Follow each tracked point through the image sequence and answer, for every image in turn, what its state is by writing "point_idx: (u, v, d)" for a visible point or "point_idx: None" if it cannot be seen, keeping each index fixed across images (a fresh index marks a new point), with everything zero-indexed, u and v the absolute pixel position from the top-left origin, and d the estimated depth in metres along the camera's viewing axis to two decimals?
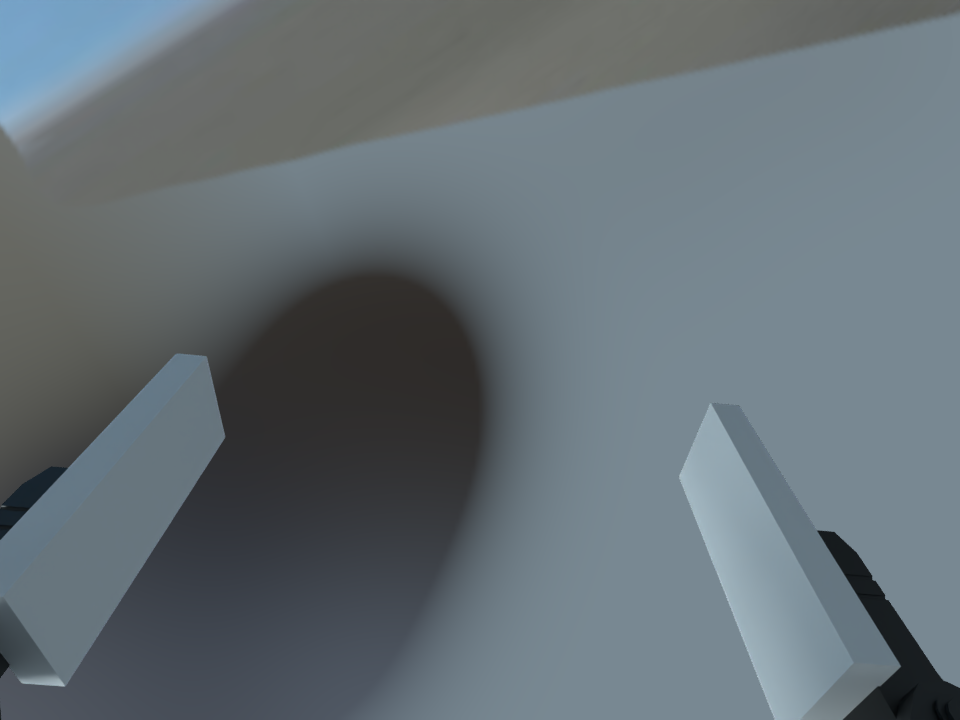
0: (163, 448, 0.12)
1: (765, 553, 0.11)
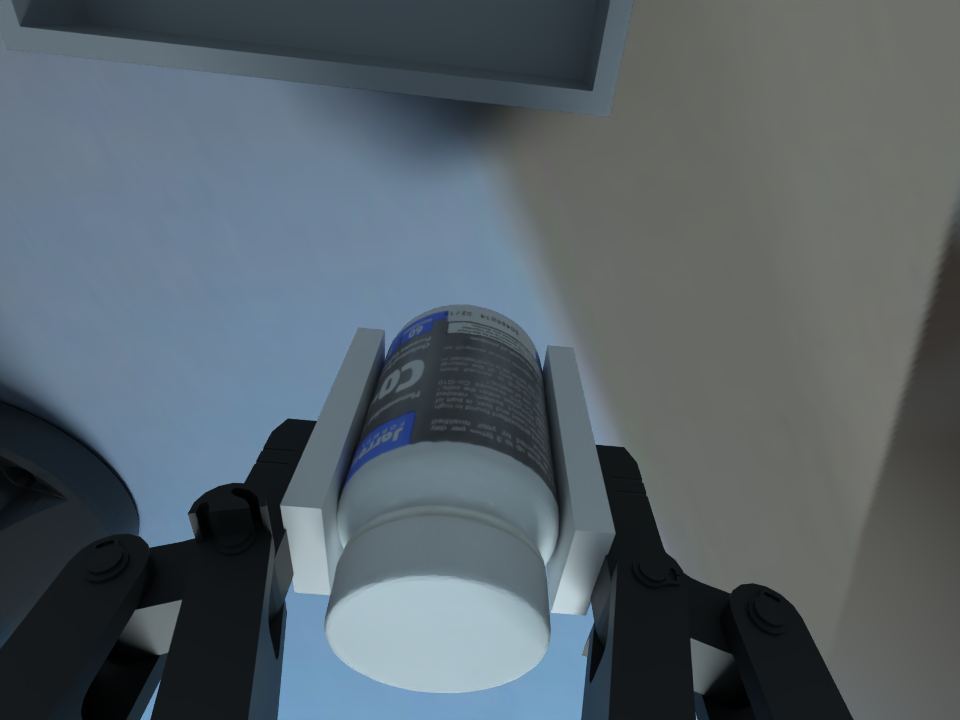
0: (368, 406, 0.13)
1: (556, 462, 0.12)
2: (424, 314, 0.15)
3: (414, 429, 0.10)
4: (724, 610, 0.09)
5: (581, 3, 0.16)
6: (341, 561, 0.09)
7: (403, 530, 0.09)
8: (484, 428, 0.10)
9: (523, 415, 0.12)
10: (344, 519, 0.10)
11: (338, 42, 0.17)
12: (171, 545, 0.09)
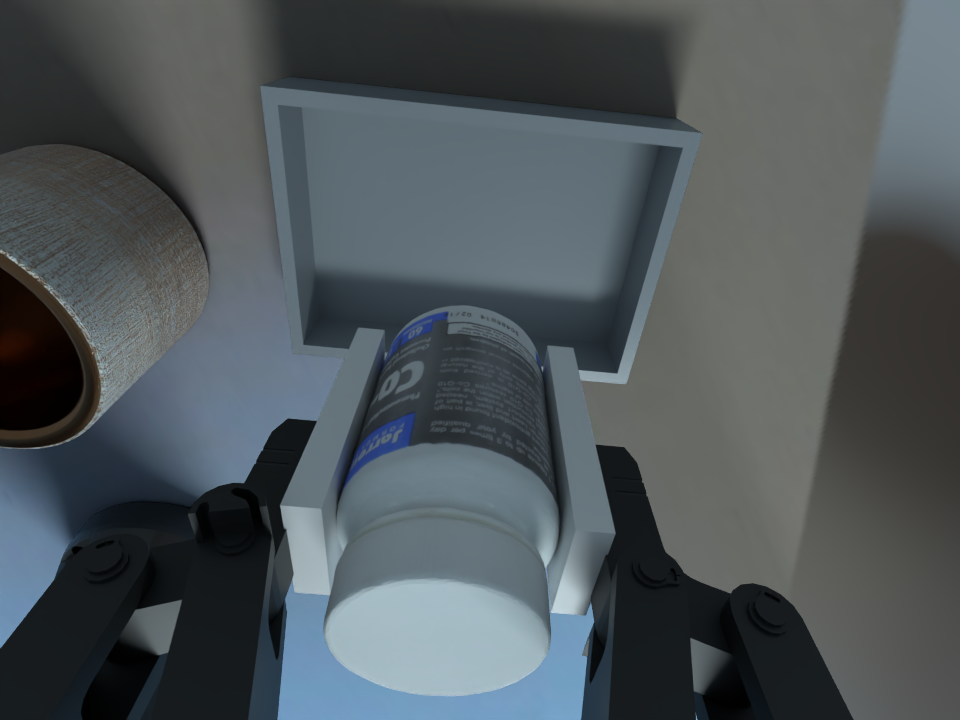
0: (368, 406, 0.13)
1: (556, 462, 0.12)
2: (424, 315, 0.15)
3: (414, 431, 0.10)
4: (723, 610, 0.09)
5: (607, 311, 0.28)
6: (340, 564, 0.09)
7: (402, 533, 0.09)
8: (484, 430, 0.10)
9: (523, 416, 0.12)
10: (343, 521, 0.10)
11: None
12: (171, 544, 0.09)
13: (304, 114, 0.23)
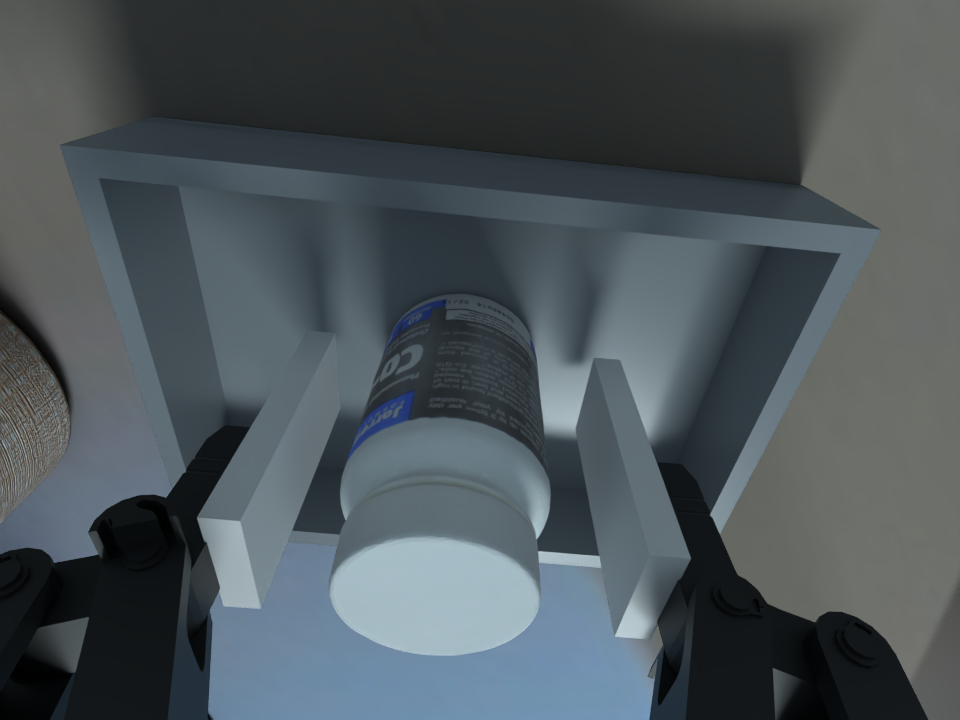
0: (312, 412, 0.13)
1: (614, 480, 0.12)
2: (423, 303, 0.15)
3: (413, 407, 0.11)
4: (807, 634, 0.09)
5: (667, 457, 0.19)
6: (344, 528, 0.10)
7: (402, 498, 0.09)
8: (479, 407, 0.11)
9: (516, 395, 0.12)
10: (347, 492, 0.11)
11: None
12: (82, 559, 0.09)
13: None
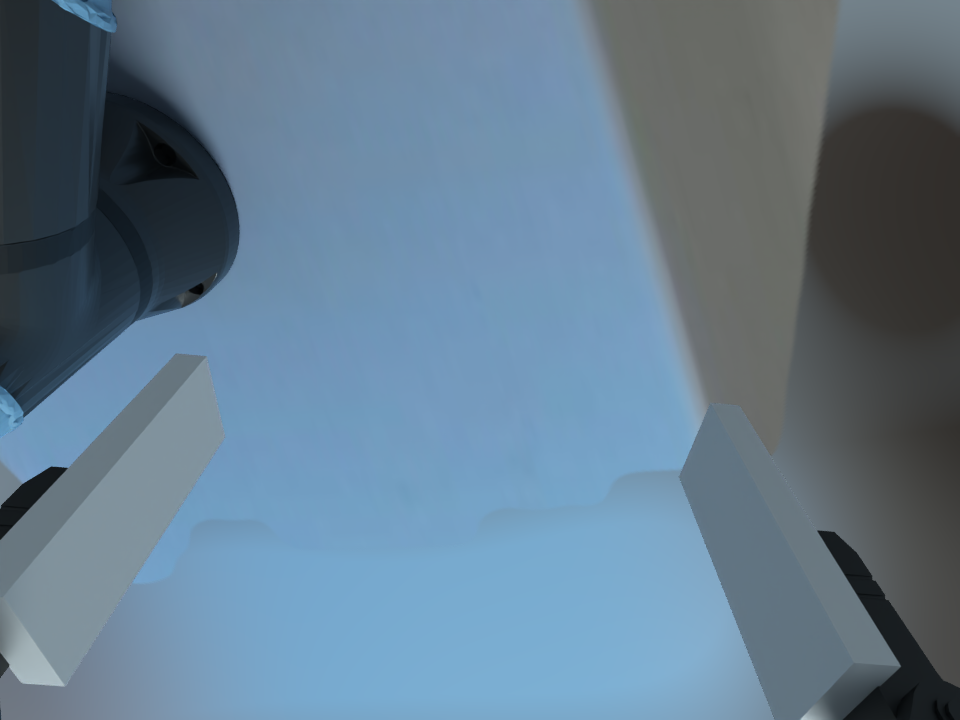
0: (163, 448, 0.12)
1: (765, 553, 0.11)
2: None
3: None
4: None
5: None
6: None
7: None
8: None
9: None
10: None
11: None
12: None
13: None
